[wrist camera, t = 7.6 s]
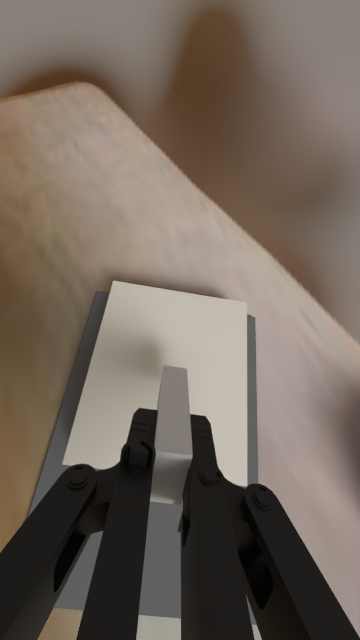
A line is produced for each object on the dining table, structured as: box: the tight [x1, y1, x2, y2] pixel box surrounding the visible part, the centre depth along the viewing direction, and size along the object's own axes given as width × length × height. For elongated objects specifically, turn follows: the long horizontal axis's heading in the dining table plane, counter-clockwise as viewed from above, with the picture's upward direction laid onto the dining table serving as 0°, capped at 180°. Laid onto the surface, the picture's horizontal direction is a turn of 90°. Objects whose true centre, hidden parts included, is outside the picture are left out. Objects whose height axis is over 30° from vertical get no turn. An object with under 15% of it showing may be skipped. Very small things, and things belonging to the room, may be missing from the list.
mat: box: [28, 292, 258, 625], centre depth 21 cm, size 22×16×1 cm
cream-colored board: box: [62, 281, 247, 486], centre depth 21 cm, size 3×12×14 cm
